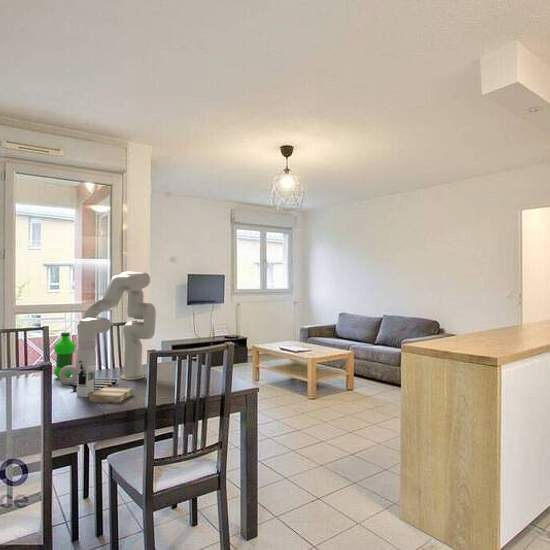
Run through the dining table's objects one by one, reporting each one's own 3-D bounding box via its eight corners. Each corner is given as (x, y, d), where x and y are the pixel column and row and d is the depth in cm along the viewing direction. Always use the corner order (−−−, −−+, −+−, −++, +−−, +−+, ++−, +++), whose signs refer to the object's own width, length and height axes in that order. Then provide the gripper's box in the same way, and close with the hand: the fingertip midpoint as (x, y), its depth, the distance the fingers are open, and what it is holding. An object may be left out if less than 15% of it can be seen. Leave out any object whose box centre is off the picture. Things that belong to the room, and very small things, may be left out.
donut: (80, 383, 220) (80, 364, 221) (77, 385, 217) (78, 365, 217) (59, 383, 219) (60, 364, 219) (57, 385, 216) (58, 366, 216)
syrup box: (87, 397, 196) (88, 366, 196) (76, 396, 197) (77, 365, 197) (94, 394, 201) (95, 364, 202) (83, 393, 203) (84, 363, 203)
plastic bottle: (68, 374, 239) (70, 331, 240) (77, 377, 233) (78, 332, 233) (50, 377, 232) (51, 332, 232) (59, 380, 225) (60, 334, 225)
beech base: (104, 393, 204) (105, 387, 204) (132, 394, 202) (132, 388, 202) (89, 401, 190) (89, 394, 190) (118, 403, 188) (119, 396, 188)
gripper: (89, 342, 209) (88, 378, 208) (69, 347, 191) (67, 387, 191) (103, 342, 208) (102, 379, 208) (84, 348, 191) (83, 387, 190)
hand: (85, 382), depth 199 cm, fingers closed on syrup box, 6 cm apart
